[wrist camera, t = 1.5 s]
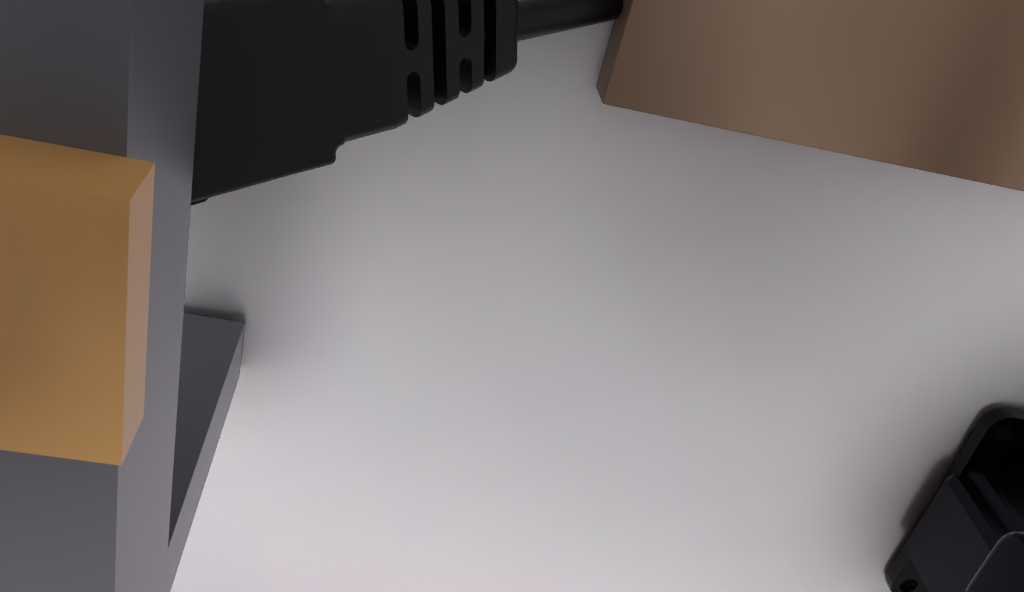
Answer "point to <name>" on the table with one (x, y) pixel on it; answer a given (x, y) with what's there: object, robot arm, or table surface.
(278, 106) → the power plug
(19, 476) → the grey arch frame
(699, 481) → the table surface
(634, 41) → the walnut pad
